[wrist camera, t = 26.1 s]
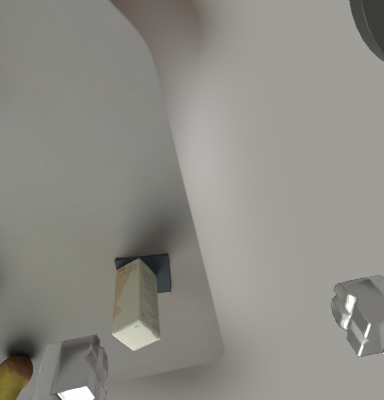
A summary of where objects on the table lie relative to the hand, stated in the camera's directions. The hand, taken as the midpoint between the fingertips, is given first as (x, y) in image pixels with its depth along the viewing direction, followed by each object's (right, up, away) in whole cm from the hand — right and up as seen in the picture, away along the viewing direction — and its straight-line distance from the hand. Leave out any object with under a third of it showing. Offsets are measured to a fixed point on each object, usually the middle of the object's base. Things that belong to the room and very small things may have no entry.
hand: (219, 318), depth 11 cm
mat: (-9, -8, +39) cm, 41 cm away
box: (-9, -7, +38) cm, 40 cm away
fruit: (-32, -24, +46) cm, 61 cm away
